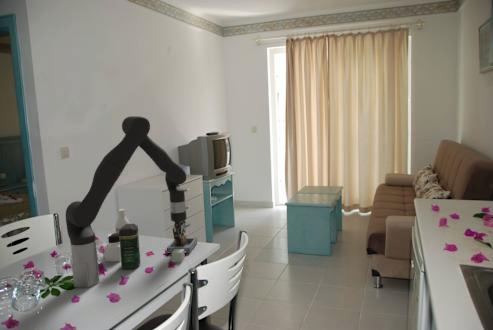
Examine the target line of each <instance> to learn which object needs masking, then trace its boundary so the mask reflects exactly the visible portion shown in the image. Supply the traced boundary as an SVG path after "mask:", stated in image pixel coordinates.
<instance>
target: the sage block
mask: <svg viewBox="0 0 493 330" xmlns="http://www.w3.org/2000/svg"><path fill="white" fill-rule="evenodd" d="M184 258H186V254H185V253H184V249H174V251H173V252H172V254H171V260H172V261H174V262H173V263H183V262H182V261H185V259H184Z"/></svg>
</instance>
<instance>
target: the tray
mask: <svg viewBox="0 0 493 330" xmlns="http://www.w3.org/2000/svg"><path fill="white" fill-rule="evenodd" d="M197 244H198V238H197V237H186V245H185V246H184V247H175V243H174V240H173V241H172V242H171V243H170V244H169V245H167V247H166V253H167V252H169V253H170V254H169V255H172V252H173V251H174V249H184V251H186V253H187V254H186V255H190V254H191V253H192V252H193V250H194V248H195V247H196V246H197Z"/></svg>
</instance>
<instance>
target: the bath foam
mask: <svg viewBox="0 0 493 330" xmlns="http://www.w3.org/2000/svg"><path fill="white" fill-rule="evenodd" d="M125 224H131V223H130V221H129V220H128V218H127V217H126V212H125V208H119V209H118V218H117V220H116V222H115V233H119V230H120V228H121V227H122V226H124V225H125Z"/></svg>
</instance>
